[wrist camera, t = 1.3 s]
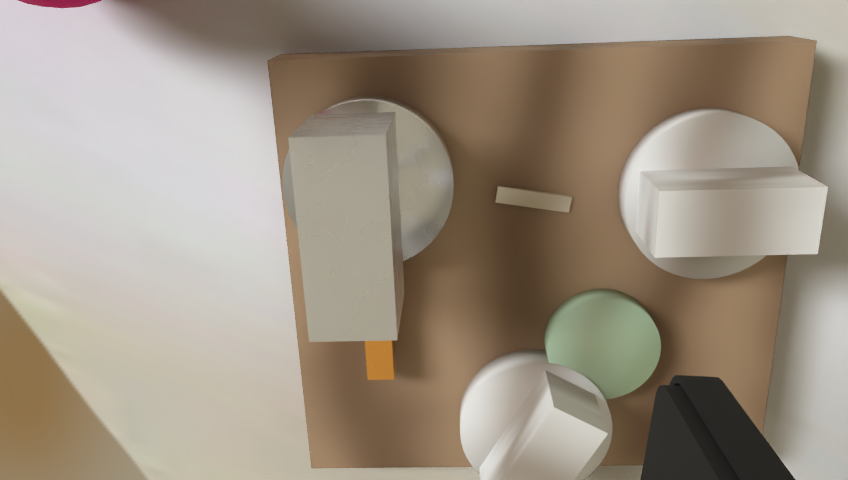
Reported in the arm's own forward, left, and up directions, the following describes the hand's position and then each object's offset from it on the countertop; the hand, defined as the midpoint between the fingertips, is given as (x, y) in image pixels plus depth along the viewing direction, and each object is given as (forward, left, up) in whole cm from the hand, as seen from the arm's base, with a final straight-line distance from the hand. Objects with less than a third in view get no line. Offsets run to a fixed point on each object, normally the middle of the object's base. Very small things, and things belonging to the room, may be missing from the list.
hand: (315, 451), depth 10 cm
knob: (+2, +5, -22) cm, 22 cm away
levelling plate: (-5, +7, -25) cm, 26 cm away
